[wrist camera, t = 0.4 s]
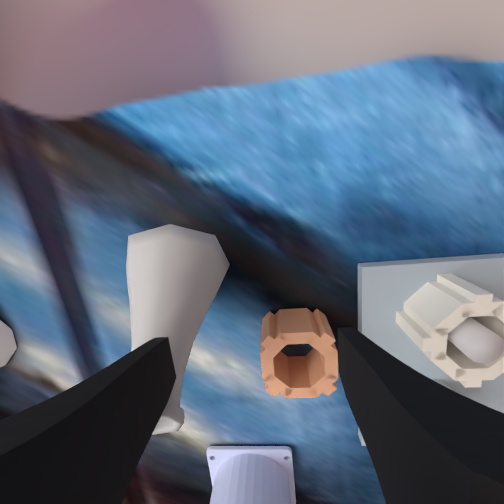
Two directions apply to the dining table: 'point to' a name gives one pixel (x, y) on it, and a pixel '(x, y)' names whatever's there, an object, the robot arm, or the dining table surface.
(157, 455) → the dining table surface
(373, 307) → the gear board
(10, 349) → the figurine
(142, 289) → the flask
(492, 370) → the gear
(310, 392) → the gear
